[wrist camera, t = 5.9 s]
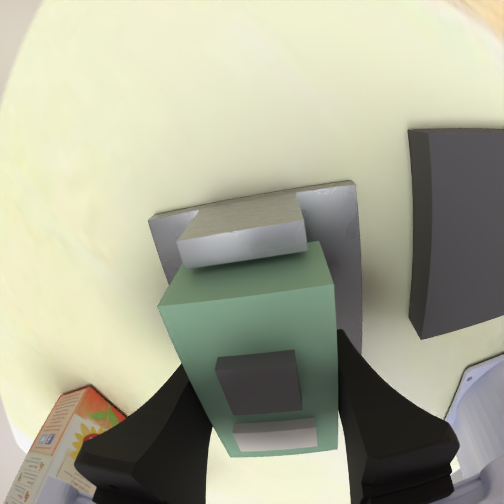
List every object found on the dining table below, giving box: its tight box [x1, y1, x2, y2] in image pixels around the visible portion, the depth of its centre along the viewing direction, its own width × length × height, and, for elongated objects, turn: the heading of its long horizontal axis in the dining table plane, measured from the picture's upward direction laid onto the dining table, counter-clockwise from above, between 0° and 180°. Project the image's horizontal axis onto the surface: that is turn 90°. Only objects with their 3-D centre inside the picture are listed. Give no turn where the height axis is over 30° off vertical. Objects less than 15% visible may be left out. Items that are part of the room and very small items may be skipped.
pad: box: [408, 128, 504, 340], centre depth 12 cm, size 10×7×2 cm
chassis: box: [148, 181, 362, 355], centre depth 14 cm, size 12×9×4 cm
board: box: [157, 241, 338, 457], centre depth 11 cm, size 9×5×4 cm, turn 11°
